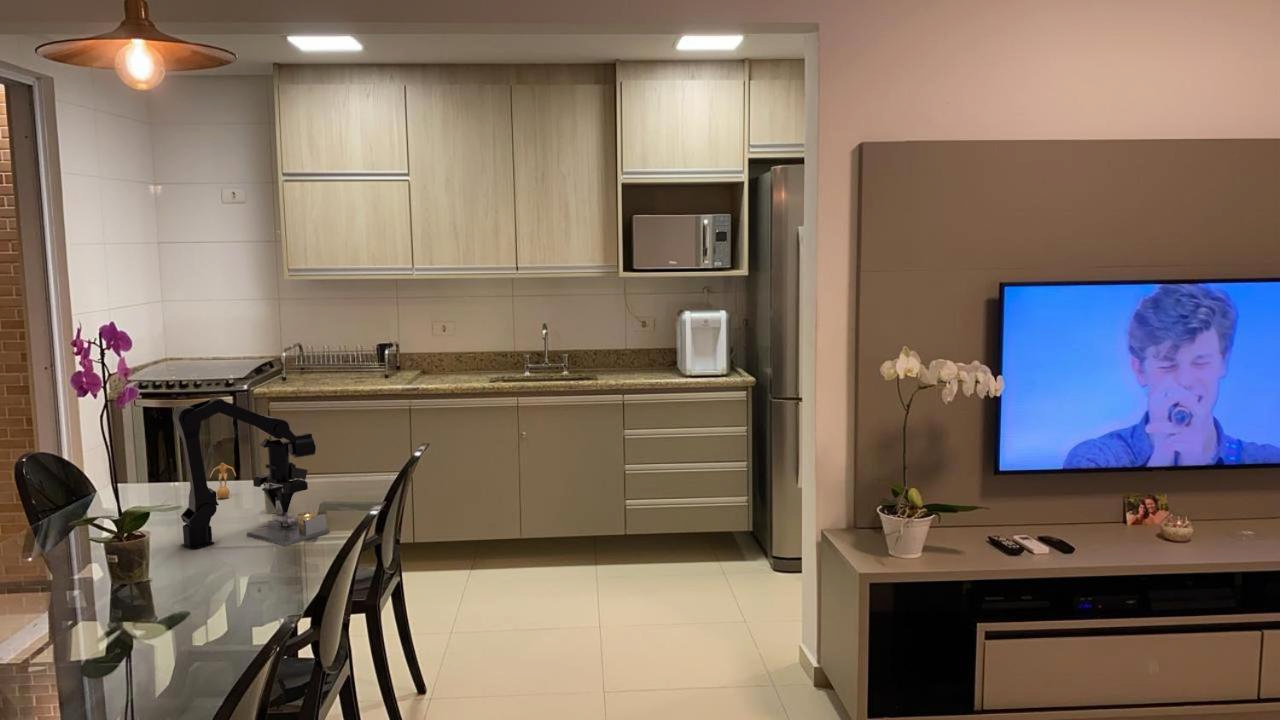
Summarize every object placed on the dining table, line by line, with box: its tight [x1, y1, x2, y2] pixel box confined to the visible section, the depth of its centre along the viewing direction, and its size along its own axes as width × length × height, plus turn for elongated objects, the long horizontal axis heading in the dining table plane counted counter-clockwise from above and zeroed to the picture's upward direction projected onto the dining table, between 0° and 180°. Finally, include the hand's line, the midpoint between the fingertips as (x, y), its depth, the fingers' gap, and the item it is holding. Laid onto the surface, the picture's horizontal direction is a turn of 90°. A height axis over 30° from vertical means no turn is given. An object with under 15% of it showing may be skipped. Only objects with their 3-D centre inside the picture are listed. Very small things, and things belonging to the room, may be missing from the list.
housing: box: [297, 510, 317, 533], centre depth 273 cm, size 5×5×5 cm
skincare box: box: [263, 483, 283, 515], centre depth 299 cm, size 6×4×12 cm
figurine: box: [209, 462, 237, 500], centre depth 318 cm, size 8×6×12 cm
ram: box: [271, 495, 297, 527], centre depth 278 cm, size 4×7×8 cm, turn 56°
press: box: [246, 513, 331, 546], centre depth 273 cm, size 15×18×6 cm
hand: (282, 511), depth 279 cm, fingers closed on ram, 3 cm apart
